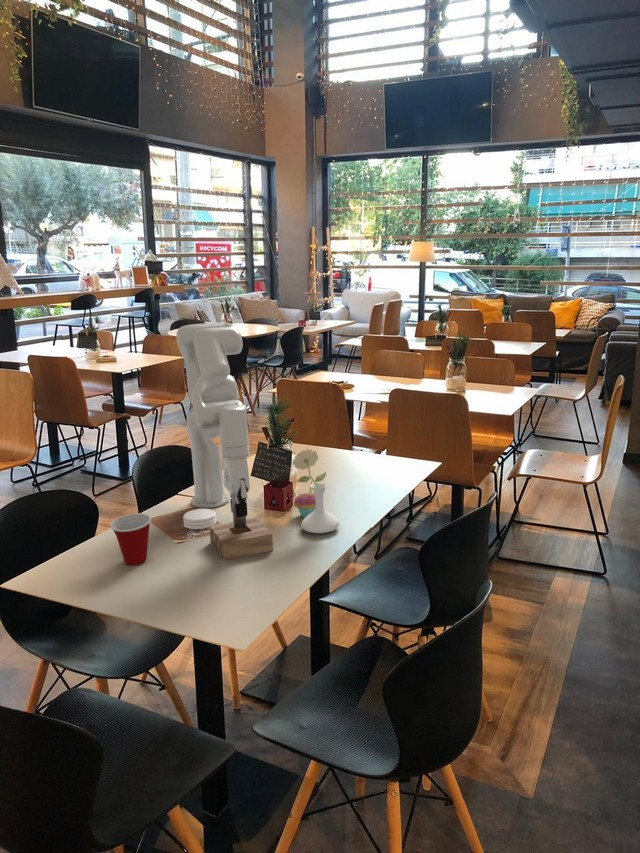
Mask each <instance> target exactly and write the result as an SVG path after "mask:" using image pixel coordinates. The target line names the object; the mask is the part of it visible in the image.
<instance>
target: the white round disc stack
mask: <svg viewBox="0 0 640 853" xmlns="http://www.w3.org/2000/svg"><path fill="white" fill-rule="evenodd" d="M182 519H183V526H184V528H186V529H188V528H189V529H188V530H193V529H195V530H196V529H200V530H206V529H210V528H209V527H210V526H213V525H217V513H216V511H214V510H213V509H212V508H211V509H210V508H196V509H191V510H189V511H186V512H185V513H184V514H183V516H182ZM205 528H206V529H205ZM196 531H197V530H196Z"/></svg>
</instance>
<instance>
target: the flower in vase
mask: <svg viewBox="0 0 640 853" xmlns="http://www.w3.org/2000/svg"><path fill="white" fill-rule="evenodd" d="M318 460H319V455H318V453H317V450H313V449H312V448H310V449H308V448H306V449H305V450H304V449H301V451H300V452H297V454H296V455H295V456H294V459H293V460H292V465H294V466H293V467H294V468H295V469H297V470H299V469H300V470H307V469H308V475H309V476H308V475H303V476H301V477H299V478H298V479H297V480H296V483H308V482H309V481H310V480H311V481H312V484H311V485H309V488H310V487H311V488H312V492H313V494H315V501H316V506H315V510H314V511H313V512H312V513H311V514H309V515H308V516H307V517H306V518H303V520H302V521H301V523H300V527H301V528H302V529H303V531H305V532H308V533H311V534H326V533H330V532H333V531H335V530H337V528H338V527H339V526H340V522H339V520H338V518H337V517H336V516H335V515H333V514H332V513H330V512H329V511H328V510H326V509H325V507H324V493H325V490H326V488H327V487H328V485H327V484H326V483H323V482H321V481H323V480H324V479H325V478H326V475H327V471H325V472H324V473H322V474H319V475H317V476H316V477H315V480H314V478H313V477H312V475H311V471H310V468H311V467H312V466H315V464H316V463H317V462H318Z"/></svg>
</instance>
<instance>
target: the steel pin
mask: <svg viewBox="0 0 640 853" xmlns="http://www.w3.org/2000/svg"><path fill="white" fill-rule="evenodd" d="M238 492H241V490H239V491H238ZM231 494H232V493H231ZM238 496H241V495H238ZM231 499H232V508H233V513H232V515H233V516H232V517H233V518H232V519H233V521H232V522H234V528H238V529H240V528H245V527H246V526H247V523H246V519H247V516H244V517H238V518H237V517H236V509H235V503H236V496H235V495H233V494H232V498H231Z"/></svg>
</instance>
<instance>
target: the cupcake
mask: <svg viewBox="0 0 640 853" xmlns="http://www.w3.org/2000/svg"><path fill="white" fill-rule="evenodd" d="M309 484H310V485H311V484H313V480H311V481H310V483H309ZM310 485H309V493H300V494H299V495H298V496H296V498H294V502H293V506H294V507H295V508H297V509H298V512H299V513H300V516H301V517H302V518H303V519H305V518H306V517H307V516H308V515H309V514H311V513H312V512H313V511H314V510H315V506H316V501H315V494H314V492H313V489H312V488H311V487H310ZM312 492H313V493H312Z"/></svg>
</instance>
